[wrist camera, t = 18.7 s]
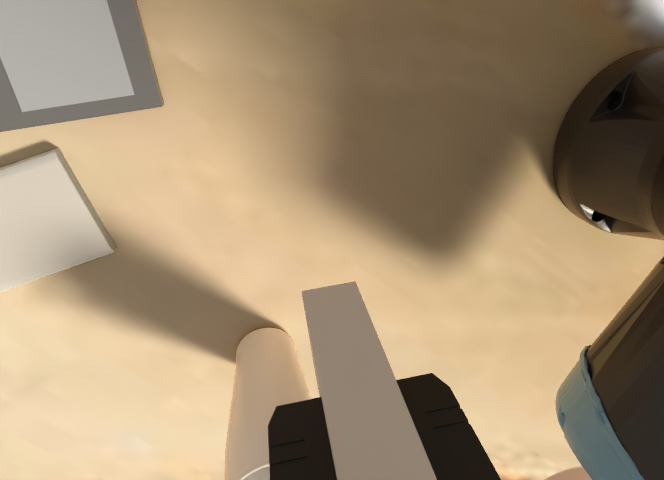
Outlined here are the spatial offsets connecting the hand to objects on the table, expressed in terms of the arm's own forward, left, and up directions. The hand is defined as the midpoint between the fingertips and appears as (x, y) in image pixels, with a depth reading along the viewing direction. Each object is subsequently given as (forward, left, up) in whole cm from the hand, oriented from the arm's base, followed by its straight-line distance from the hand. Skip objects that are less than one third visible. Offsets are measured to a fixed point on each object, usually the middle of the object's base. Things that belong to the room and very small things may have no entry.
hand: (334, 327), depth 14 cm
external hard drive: (+20, +3, -25) cm, 32 cm away
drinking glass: (+4, +18, -24) cm, 31 cm away
